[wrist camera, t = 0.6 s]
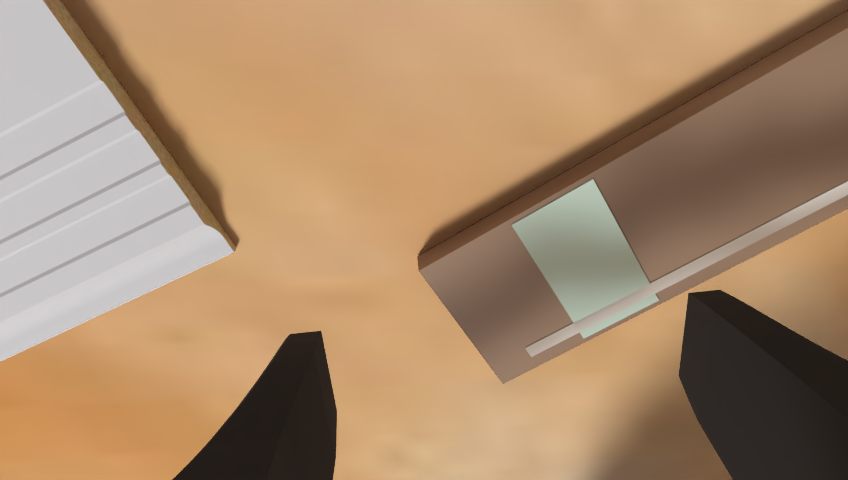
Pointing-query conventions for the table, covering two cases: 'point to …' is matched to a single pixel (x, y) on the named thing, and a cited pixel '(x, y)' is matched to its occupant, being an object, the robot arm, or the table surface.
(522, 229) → the board
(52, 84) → the baseboard molding
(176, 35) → the table surface
